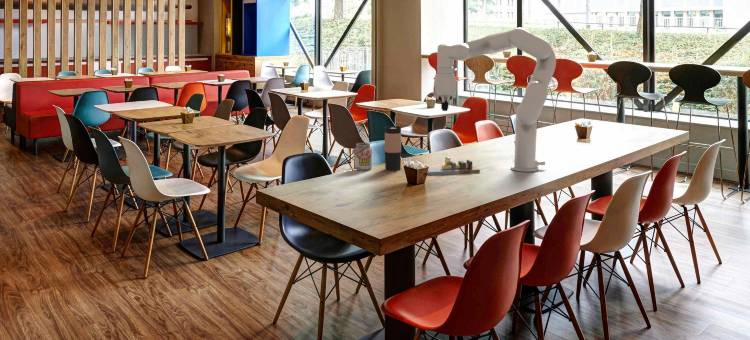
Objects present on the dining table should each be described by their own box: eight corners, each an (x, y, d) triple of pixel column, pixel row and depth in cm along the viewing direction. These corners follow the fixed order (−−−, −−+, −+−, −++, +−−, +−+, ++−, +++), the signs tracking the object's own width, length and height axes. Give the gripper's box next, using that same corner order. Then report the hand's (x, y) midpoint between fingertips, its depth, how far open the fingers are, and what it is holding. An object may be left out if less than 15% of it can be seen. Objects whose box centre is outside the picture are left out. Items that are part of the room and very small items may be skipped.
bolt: (443, 169, 312) (443, 158, 311) (441, 168, 314) (441, 157, 313) (468, 168, 314) (468, 156, 313) (466, 167, 316) (466, 156, 315)
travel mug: (381, 169, 322) (381, 127, 317) (394, 167, 326) (394, 125, 322) (391, 171, 316) (391, 129, 311) (404, 169, 320) (404, 127, 316)
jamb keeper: (458, 173, 310) (459, 163, 309) (452, 170, 319) (452, 159, 318) (479, 172, 312) (480, 162, 311) (473, 169, 321) (473, 158, 320)
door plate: (429, 175, 308) (429, 165, 307) (423, 171, 316) (424, 161, 315) (458, 173, 310) (459, 163, 309) (452, 170, 319) (452, 160, 318)
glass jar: (354, 171, 317) (353, 146, 315) (351, 167, 325) (350, 143, 323) (373, 170, 319) (373, 145, 316) (370, 167, 327) (369, 142, 324)
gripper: (458, 70, 322) (457, 109, 325) (427, 71, 319) (427, 110, 322) (463, 71, 314) (462, 111, 318) (432, 72, 311) (431, 112, 315)
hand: (444, 110), depth 320 cm, fingers closed
